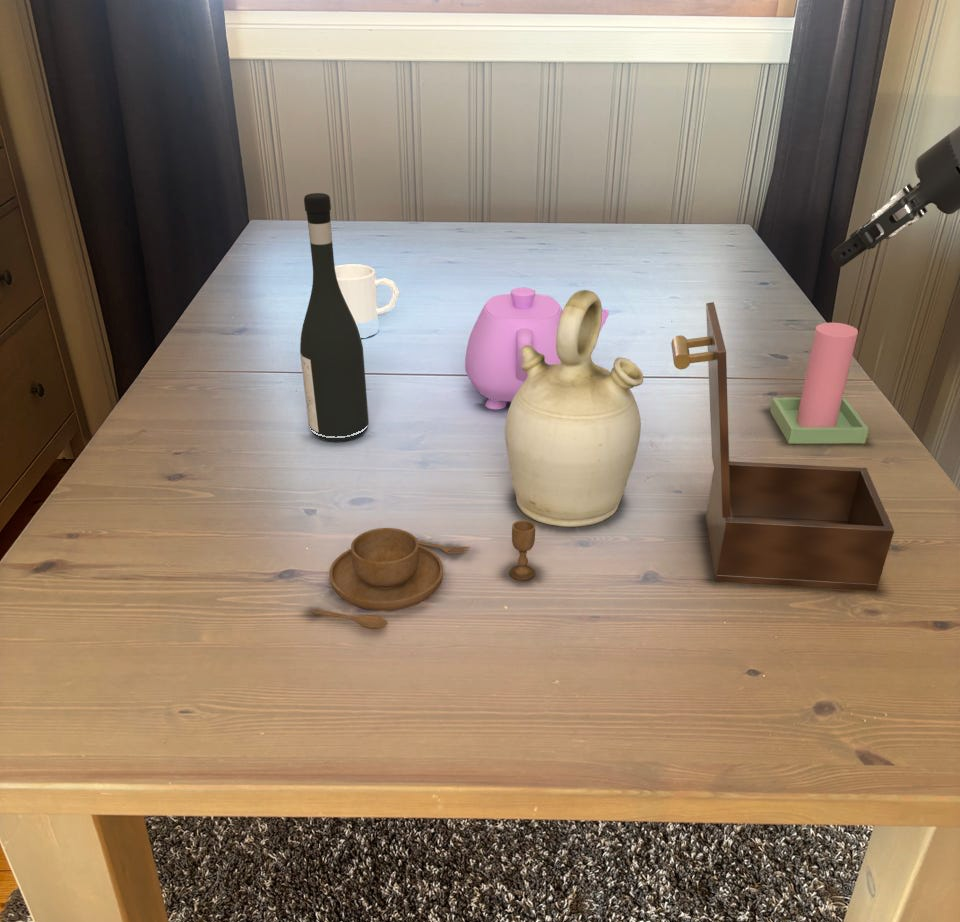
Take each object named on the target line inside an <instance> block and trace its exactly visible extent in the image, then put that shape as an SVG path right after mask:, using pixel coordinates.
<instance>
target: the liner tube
mask: <svg viewBox="0 0 960 922" xmlns="http://www.w3.org/2000/svg"><path fill="white" fill-rule="evenodd" d="M858 334H859V330H858V329H857V328H856V327H855V326H852V325H849V324H846V323H841V322H823V323H819V324H817V325H816V326H815V330H814V336H813V340H812V344H811V350H810V354H809V358H808V359H809V360H808V364H807V369H806V372H805V377H804V382H803V386H802V387H803V388H802V393H801V396H800V398H801V401H800V406H799V411H798V416H797V424H798V425H799V426H801V427H836V423H837V419H838V415H839V410H840V406H841V402H842V398H843V397H844V393H845V389H846V385H847V381H848V376H849V373H850V368H851V363H852V360H853V355H854V352H855V348H856V343H857V338H858Z"/></svg>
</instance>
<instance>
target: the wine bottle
mask: <svg viewBox="0 0 960 922" xmlns="http://www.w3.org/2000/svg"><path fill="white" fill-rule="evenodd" d="M303 203H304V211H305V212H306V219H307V226H308V227H307V228H308V237H309V244H310V254H311V255H310V256H311V262H312V263H311V264H312V265H311V266H312V285H311V292H310V296H309V301H308V305H307V309H306V313H305V316H304V319H303V323H302V327H301V333H300V344H299V352H300V353H299V354H300V362H301V363H300V364H301V372H302V380H303V388H304V396H305V403H306V404H305V405H306V406H305V407H306V412H307V413H306V414H307V421H308V427H309V426H310V428H311V430H313V431H315V432H316V433H318V434H322V435H325V436H335V437H337V436H347V435H351V434H353V433H356V432H358V431H361V430H362V429H364V428H365V427H366V426H367V425H368V427H367V428H366V429H365V430H364V431H363V432H361V433H359V434H357V435H354V436H350V437H345V438H326V437H322V436H318V435H316V434H314V433H313V432H312V431H311V430H310V432H311V434H312V435H313V436H314V437H316V438H318V439H319V440H322V441H325V442H328V443H329V442H330V443H342V442H349V441H353V440H355V439H358V438H359V437H362V436H363V435H364V434H365V433H366V432H367V431H368V428H369V408H368V395H367V381H366V369H365V368H366V367H365V355H364V347H363V342H362V339H361V337H360V333H359V330H358V327H357V325H356V322H355V320H354V318H353V316H352V314H351V312H350V310H349V308H348V306H347V304H346V301H345V299H344V297H343V295H342V293H341V290H340V287H339V284H338V281H337V277H336V273H335V266H336V265H335V256H334V246H333V245H334V243H333V234H332V233H333V231H332V222H331V211H332V206H331V196H330V195H328V193H324V192H313V193H308V194H306V195H304V197H303ZM310 428H309V429H310Z"/></svg>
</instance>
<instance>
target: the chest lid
mask: <svg viewBox="0 0 960 922" xmlns="http://www.w3.org/2000/svg"><path fill="white" fill-rule="evenodd" d="M705 310H706V311H705V314H706V336H703V337H702V336H701V337H695V338H686V336H684V335H682V334H681V335H675V336H674V337H673V338H672V340H671V343H670V345H671V352H672V360H673V366H674V367H675V368H676V369H677V370H686V369H687V368H688V367H689V366H690V365H691V364H695V363H703V362H704V363H705V362H707V365H708V389H709V390H708V391H709V393H708V394H709V419H710V438H711V439H710V442H711V459H712V466H713V470H714V471H715V477H716V483H717V489H718V494H719V500H720V506H721V511H722V517H723V518H726V517H731V512H730V475H729V461H730V442H729V441H730V440H729V409H728V407H729V405H728V404H729V403H728V369H727V368H728V367H727V349H726V346H725V341H724V337H723V333H722V329H721V324H720V322H719V317H718V313H717V312H718V311H717V309H716V304H715V301H712V302H711V301H710V302H706V303H705ZM700 347H707V351H706V352H705V351H704V352H696V353H691V352H690V349H692V348H700Z"/></svg>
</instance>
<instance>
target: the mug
mask: <svg viewBox="0 0 960 922" xmlns="http://www.w3.org/2000/svg"><path fill="white" fill-rule="evenodd" d="M334 266H335V273H336V277H337V281H338V284H339V287H340V290H341V293H342V295H343V297H344V299H345V301H346V304H347V306H348V308H349V310H350V312H351V314H352V316H353V318H354V320H355V322H356V324H358V323H365V322H369V321H371V320H373V319H375V318H377V316H378V317H379V315H382V314H385V313H387V312H389V311H391V310H393V309H394V307H395V305H396V302H397V301H398V298H399V295H400V294H401V292H400V289H399V288H398V286H397V284H396V282H395V281H394V280H392V279H389V278H387V277H382V278H378V279H377V273H376V270H375V269H374V268H373V267H372V266H370V265H366V264H360V263H359V264H358V263H346V264H339V265H334ZM380 285H382V286H386V287H388V288H389V289H390V291H391V293H392V295H391V298H390V300H389V302H388V303H387V304H385V305H384V306H382V307H379V304H378V289H377V287H378V286H380Z"/></svg>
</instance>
